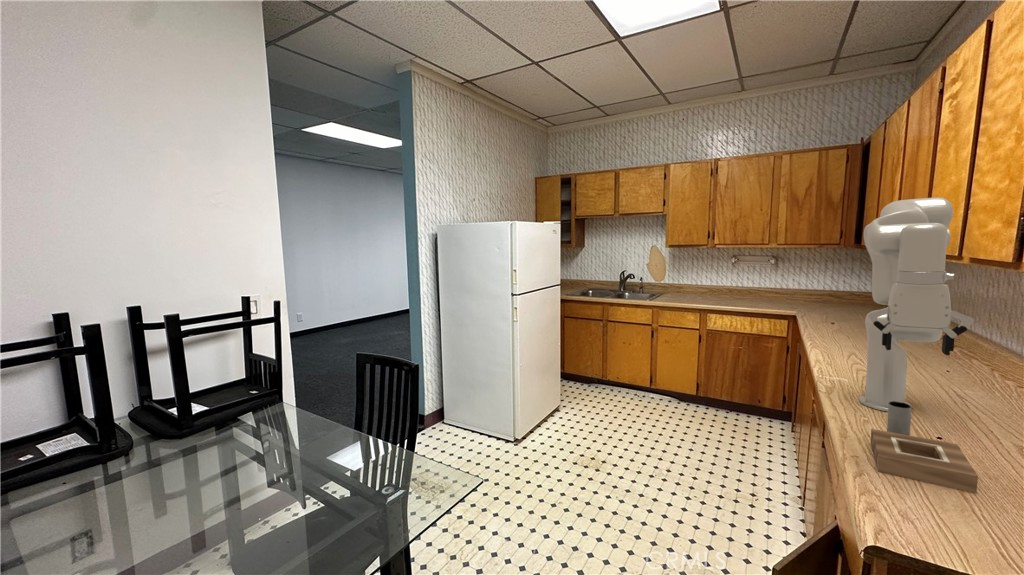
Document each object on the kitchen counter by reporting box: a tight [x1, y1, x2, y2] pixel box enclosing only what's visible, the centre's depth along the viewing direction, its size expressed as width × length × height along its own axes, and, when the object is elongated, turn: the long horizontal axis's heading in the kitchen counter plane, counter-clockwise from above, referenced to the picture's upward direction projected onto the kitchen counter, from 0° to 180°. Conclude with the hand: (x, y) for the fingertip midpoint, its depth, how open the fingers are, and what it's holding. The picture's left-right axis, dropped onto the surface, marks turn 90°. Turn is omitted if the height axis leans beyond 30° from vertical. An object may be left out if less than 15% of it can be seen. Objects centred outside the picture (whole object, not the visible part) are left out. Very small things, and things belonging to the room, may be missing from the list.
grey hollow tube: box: [886, 401, 913, 436], centre depth 110 cm, size 4×4×10 cm
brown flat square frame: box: [870, 428, 979, 494], centre depth 98 cm, size 16×16×4 cm
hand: (915, 351), depth 94 cm, fingers open, 9 cm apart
